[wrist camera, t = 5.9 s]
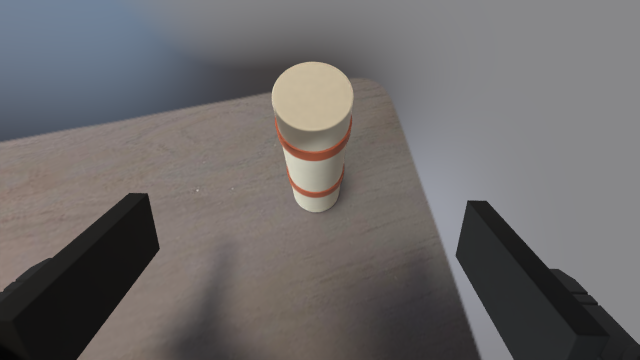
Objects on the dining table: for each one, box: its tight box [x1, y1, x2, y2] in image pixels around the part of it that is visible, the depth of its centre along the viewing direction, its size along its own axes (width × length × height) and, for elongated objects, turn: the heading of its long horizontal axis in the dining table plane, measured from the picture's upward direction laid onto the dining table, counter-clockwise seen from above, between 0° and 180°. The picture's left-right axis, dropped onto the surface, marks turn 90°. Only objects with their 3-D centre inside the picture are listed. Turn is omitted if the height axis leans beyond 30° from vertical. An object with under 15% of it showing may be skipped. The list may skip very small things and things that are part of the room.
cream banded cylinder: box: [272, 62, 354, 212], centre depth 21 cm, size 4×4×13 cm
